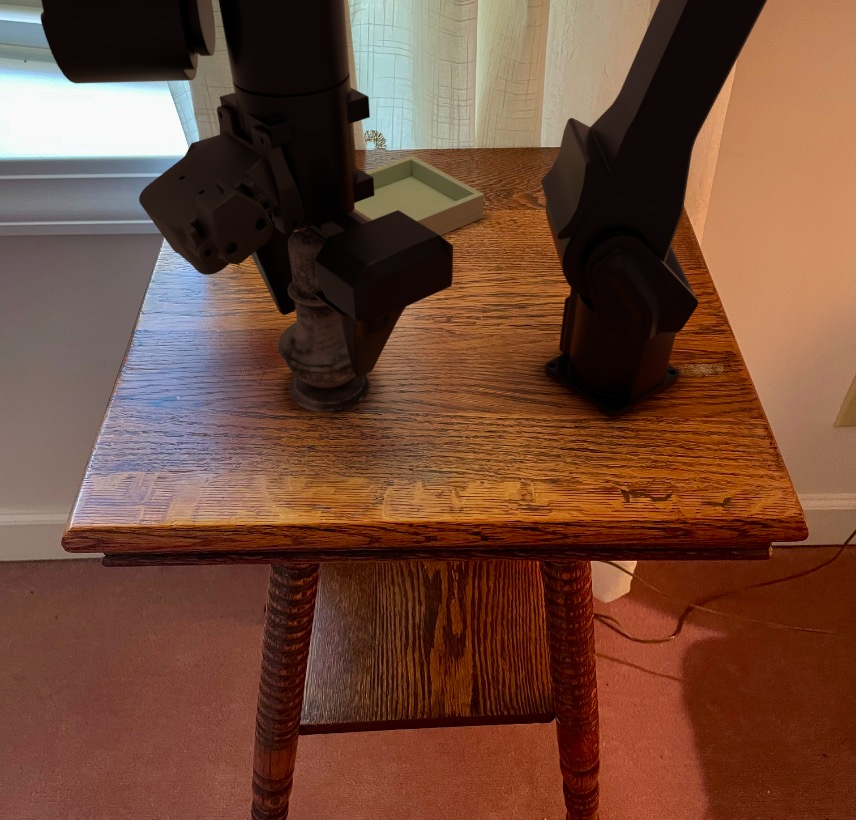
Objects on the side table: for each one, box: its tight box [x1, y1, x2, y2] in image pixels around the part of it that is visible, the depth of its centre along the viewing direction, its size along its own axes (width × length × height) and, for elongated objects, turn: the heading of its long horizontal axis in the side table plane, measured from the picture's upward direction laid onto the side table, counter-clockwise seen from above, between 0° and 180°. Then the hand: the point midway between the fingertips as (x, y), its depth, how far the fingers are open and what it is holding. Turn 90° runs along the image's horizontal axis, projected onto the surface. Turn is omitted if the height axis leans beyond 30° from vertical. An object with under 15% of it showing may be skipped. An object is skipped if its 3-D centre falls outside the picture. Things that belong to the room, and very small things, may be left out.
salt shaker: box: [277, 229, 371, 414], centre depth 50 cm, size 6×6×12 cm
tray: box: [353, 155, 485, 236], centre depth 69 cm, size 10×10×2 cm
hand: (324, 341), depth 52 cm, fingers closed on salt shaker, 8 cm apart
